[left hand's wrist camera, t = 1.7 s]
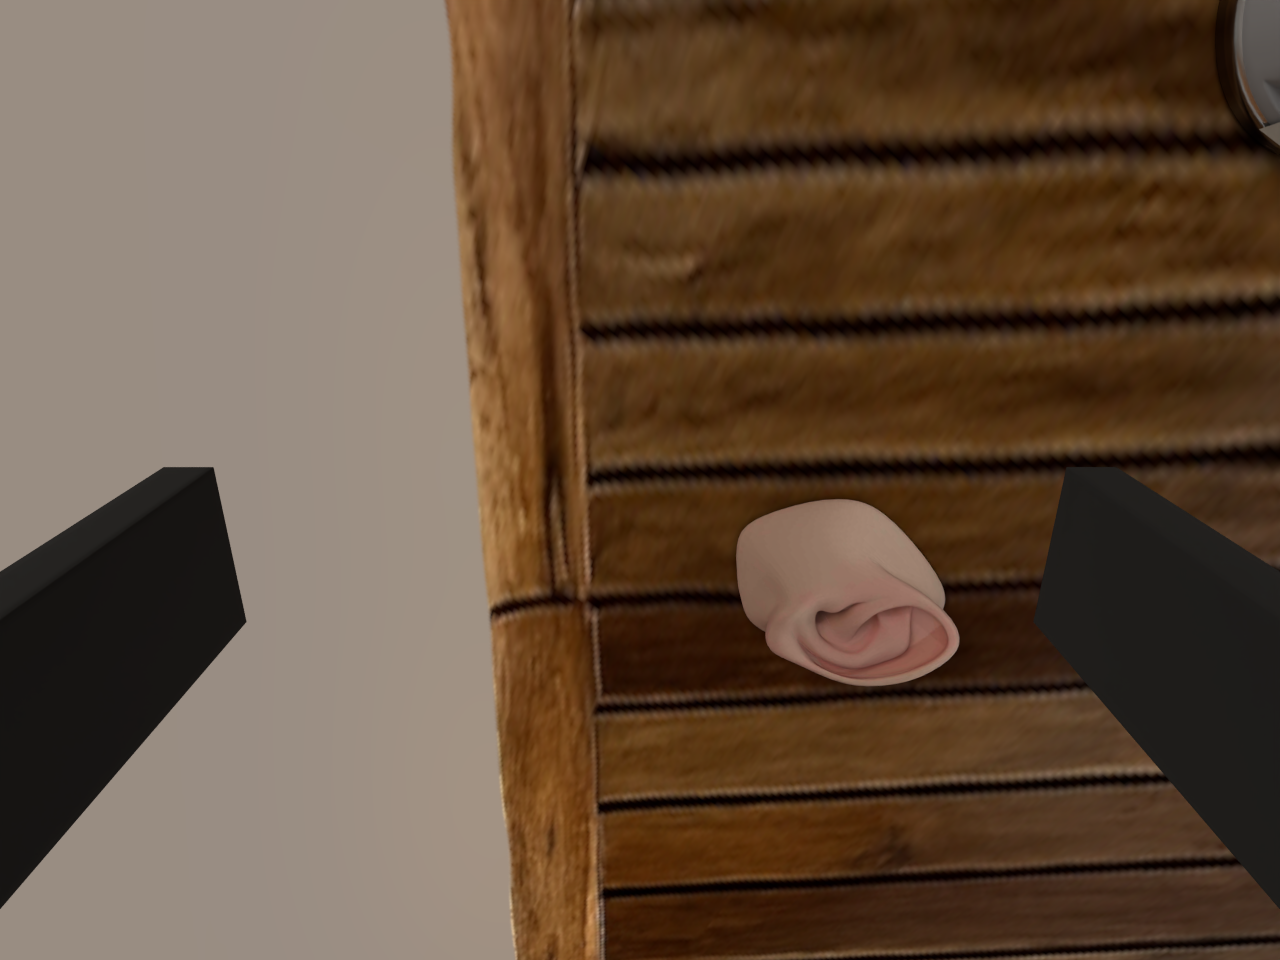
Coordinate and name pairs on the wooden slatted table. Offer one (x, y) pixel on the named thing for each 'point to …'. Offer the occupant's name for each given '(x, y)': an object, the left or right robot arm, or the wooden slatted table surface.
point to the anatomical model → (844, 593)
